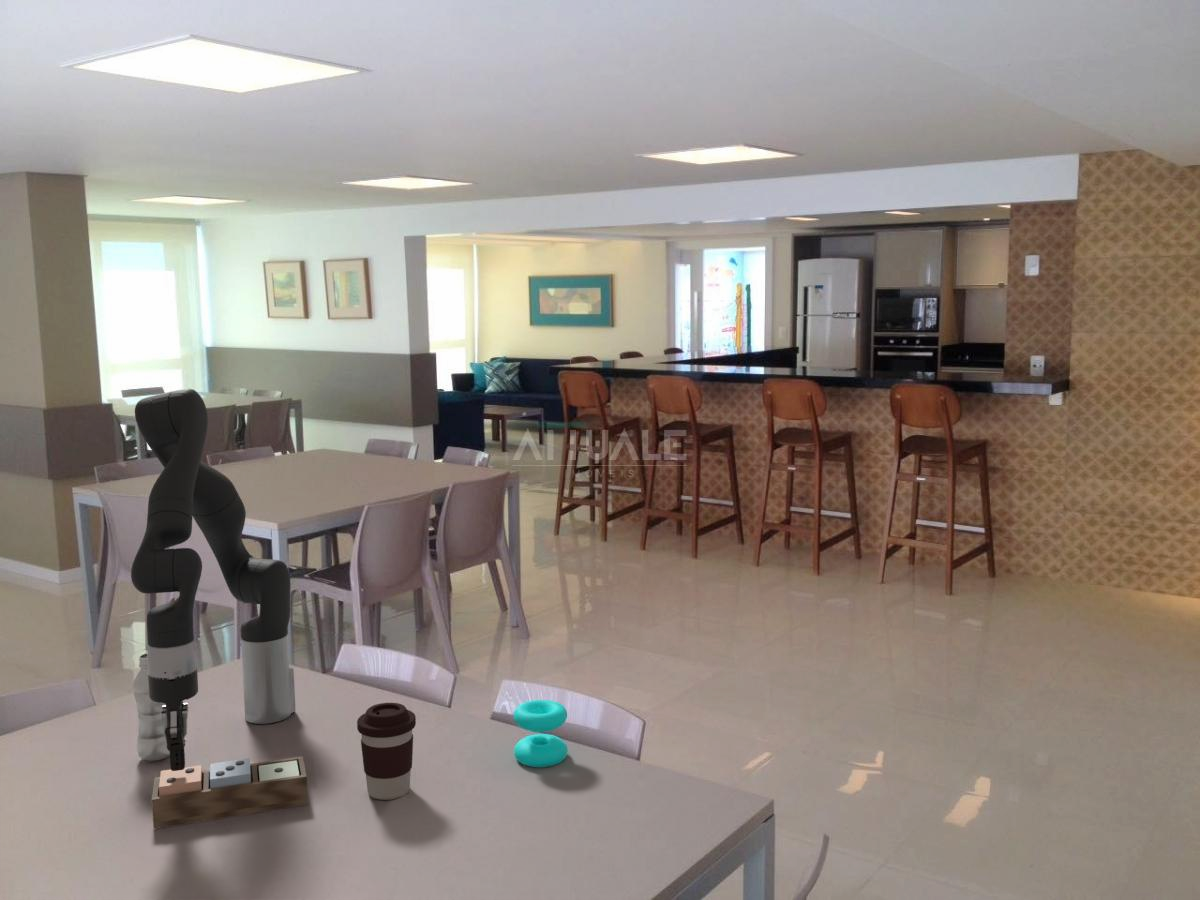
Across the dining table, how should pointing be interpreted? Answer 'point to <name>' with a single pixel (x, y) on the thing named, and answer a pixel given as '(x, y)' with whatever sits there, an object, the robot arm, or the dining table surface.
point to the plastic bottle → (148, 718)
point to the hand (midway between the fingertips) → (178, 768)
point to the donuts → (540, 746)
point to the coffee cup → (387, 749)
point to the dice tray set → (230, 797)
